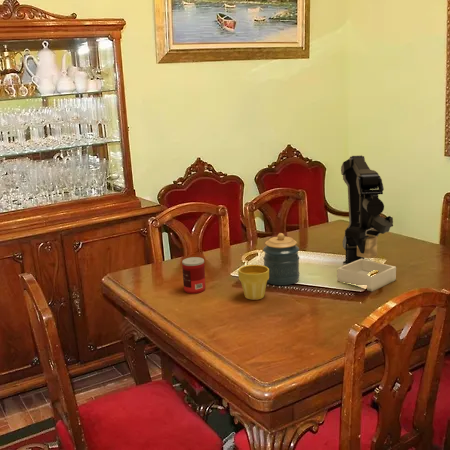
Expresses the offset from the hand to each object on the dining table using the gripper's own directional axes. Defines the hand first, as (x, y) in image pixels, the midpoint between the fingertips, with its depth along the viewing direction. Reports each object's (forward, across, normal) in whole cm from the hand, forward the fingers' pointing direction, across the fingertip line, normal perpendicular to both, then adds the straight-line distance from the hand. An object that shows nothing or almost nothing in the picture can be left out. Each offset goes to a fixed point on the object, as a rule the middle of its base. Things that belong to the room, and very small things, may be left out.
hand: (366, 251), depth 206 cm
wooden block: (+2, 0, 0) cm, 2 cm away
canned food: (+11, -47, +39) cm, 62 cm away
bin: (+11, 0, 0) cm, 11 cm away
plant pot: (+11, -37, +19) cm, 43 cm away
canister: (+11, -19, +23) cm, 32 cm away
